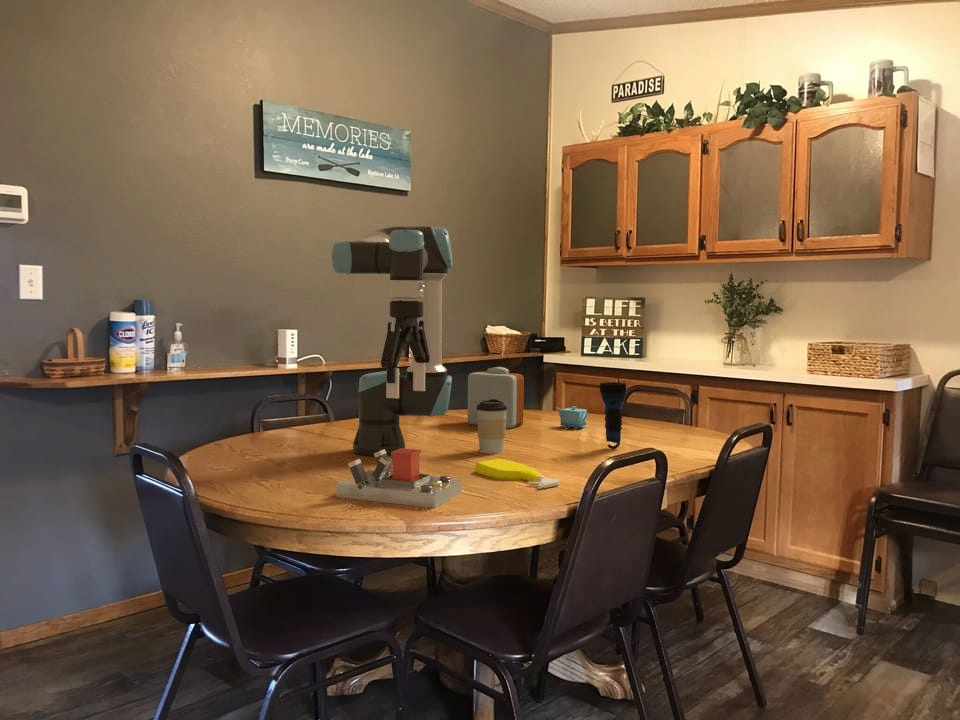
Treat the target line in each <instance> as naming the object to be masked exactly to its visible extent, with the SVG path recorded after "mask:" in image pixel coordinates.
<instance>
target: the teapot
mask: <svg viewBox="0 0 960 720" xmlns="http://www.w3.org/2000/svg"><path fill="white" fill-rule="evenodd" d="M556 410H557V411H558V414H559V417H560V426H561V427H564V429H569V428H573V429H574V430H579V428H580V429H582V428H583V427H584V426H586V425H587V418H588V413H587V412H588V410H587V409H584V408H577V406H571V407H567V408H562V409H561V408H560V407H556Z"/></svg>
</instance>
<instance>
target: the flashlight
mask: <svg viewBox="0 0 960 720" xmlns="http://www.w3.org/2000/svg"><path fill="white" fill-rule="evenodd" d="M599 392H600V396H601V399H602V402H603V404H604V405H605V407H604V415H605V416H604V421H605V423H604V428H605V439H606V440H605V441H606V442H609V443H614V444H615V445H611V444H609V443H608V444H607V448H608V449H611V450H615V449H617V448H619V447H620V445H621V441H622V440H621V438H622V436H621V435H622V430H623V427H622V426H623V420H622V419H623V409H622V405H623V403H624V401H625V398H626V396H627V382H622V381H609V382H608V381H604V382H599Z"/></svg>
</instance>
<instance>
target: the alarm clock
mask: <svg viewBox="0 0 960 720" xmlns="http://www.w3.org/2000/svg"><path fill="white" fill-rule="evenodd" d="M524 385H525V377H524V376H523V375H522V374H520V373H512V372H511V373H510V369H508V368H507V367H502V366H497V367H496V366H495V367H490V368H487V370H486V371H476V372H471V373H469V374H468V376H467V423H469V424H470V425H473V426H478V424H477V417H478V416H477V405H479V404H480V402H481V401H488V400H490V399H497V400H499V401H502V402H504V405H506V406H507V411H506V429H513V428H516V427H519V426H522V425H523V423H524V397H525V395H524V394H525V391H524V390H525V388H524V387H525V386H524Z"/></svg>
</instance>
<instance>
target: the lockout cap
mask: <svg viewBox="0 0 960 720" xmlns="http://www.w3.org/2000/svg"><path fill="white" fill-rule="evenodd" d="M421 451H422V449H414V448H405V449H403V448H400V449H398V450H395V451H393V452H391V455H390V456H391V457H392V468H393V469H392V471H393V479H395V480H405V481H414V480H416V479H418V478H419V474H420V454H421V453H422V452H421Z"/></svg>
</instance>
